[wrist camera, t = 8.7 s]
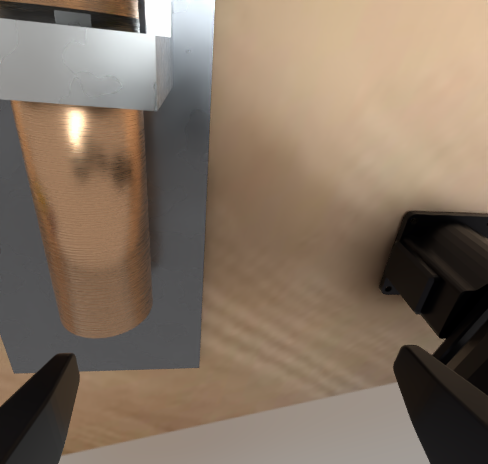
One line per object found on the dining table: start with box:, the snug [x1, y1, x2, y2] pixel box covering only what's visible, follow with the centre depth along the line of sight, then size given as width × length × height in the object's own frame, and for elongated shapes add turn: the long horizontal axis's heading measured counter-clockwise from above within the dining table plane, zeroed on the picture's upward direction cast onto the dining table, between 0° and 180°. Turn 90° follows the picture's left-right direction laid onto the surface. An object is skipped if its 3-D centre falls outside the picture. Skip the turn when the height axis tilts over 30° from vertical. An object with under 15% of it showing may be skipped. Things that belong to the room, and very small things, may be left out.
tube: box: [0, 0, 153, 338], centre depth 15 cm, size 17×5×5 cm, turn 175°
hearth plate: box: [0, 0, 215, 373], centre depth 19 cm, size 13×27×1 cm, turn 175°
